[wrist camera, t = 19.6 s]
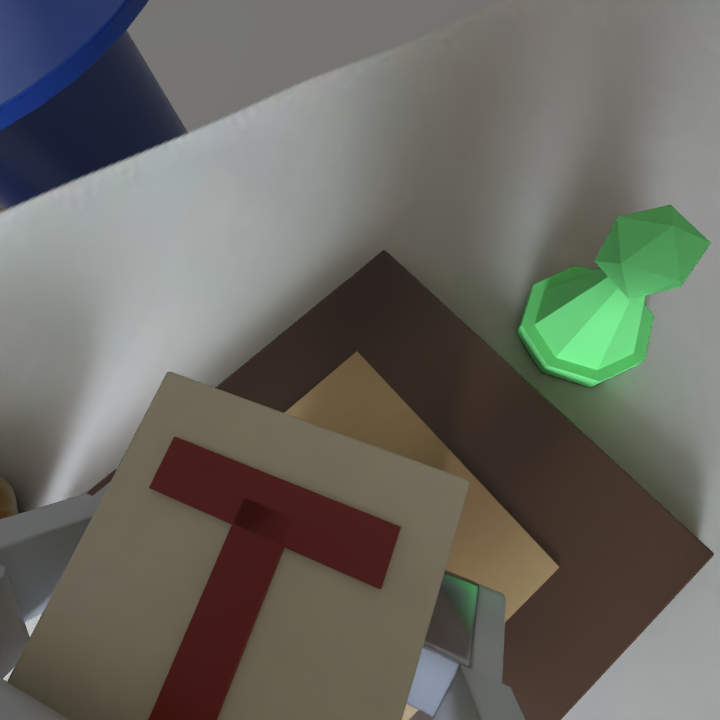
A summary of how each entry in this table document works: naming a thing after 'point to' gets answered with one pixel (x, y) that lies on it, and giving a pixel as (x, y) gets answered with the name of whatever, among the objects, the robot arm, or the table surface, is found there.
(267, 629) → the letter block
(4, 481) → the pastry
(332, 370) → the brown board
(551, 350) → the game piece
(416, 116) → the table surface
